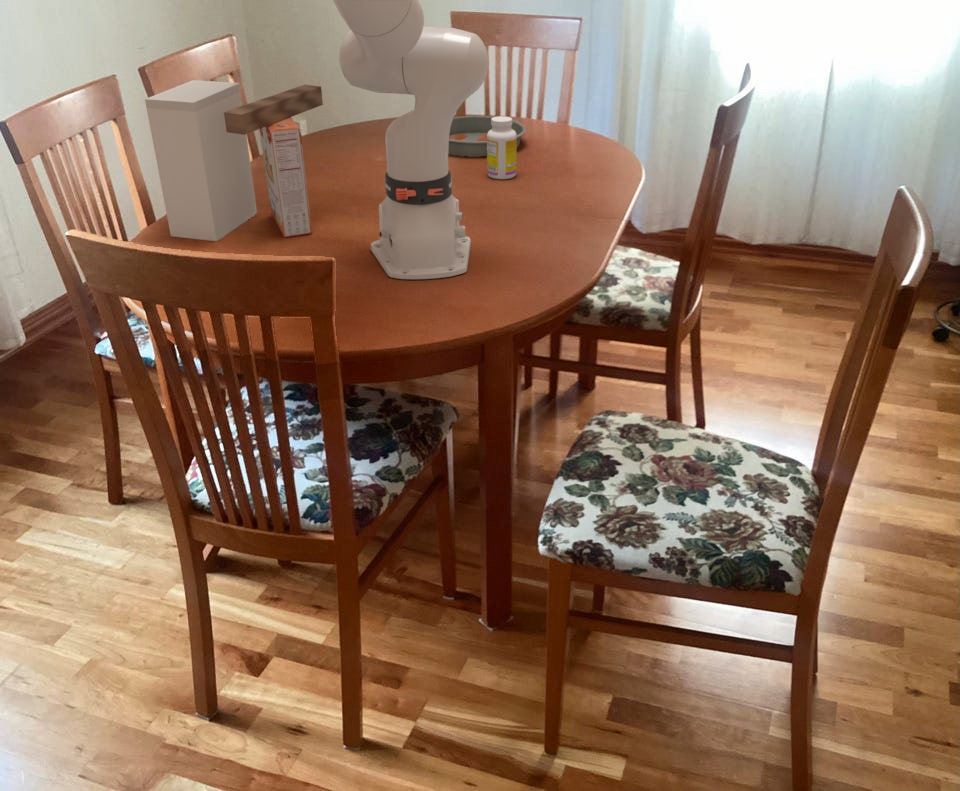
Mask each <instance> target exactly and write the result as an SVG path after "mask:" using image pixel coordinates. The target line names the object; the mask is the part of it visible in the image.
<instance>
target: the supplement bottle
mask: <svg viewBox="0 0 960 791" xmlns="http://www.w3.org/2000/svg"><path fill="white" fill-rule="evenodd" d="M512 120H513V118H512V117H511V116H501V115H500V116H493V118H492V119H491V125H492V129H491V130H490V131H489V132H488V133H487V157H486V164H487V165H486V166H487V168H486V171H487V176H488V177H489V178H491V179H493V180H508V179H513V178H514V177H515V176H516V175H517V161H518V160H517V157H518V156H517V153H518V151H517V149H518V148H517V134H516V132H515V131H514V130H513V129H511V126H512Z"/></svg>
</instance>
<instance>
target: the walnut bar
mask: <svg viewBox="0 0 960 791" xmlns="http://www.w3.org/2000/svg"><path fill="white" fill-rule="evenodd" d="M323 102H324V101H323V93H322V86H319V85H318V86H317V85H311V84H302V85H299V86H296V87H294V88H290V89H288V90H285V91H282V92H279V93H276V94H273V95H271V96H270V95H269V96H267V97H264V98H261V99H259V100H255V101H252V102H250V103H247V104H243V105H242V106H241V107H238V108H235V109H232V110H229V111H226V112H224V117H225V124H226V131H227V132H229V133H236V134H243V135H245V134H246V135H247V134H250V133H253V132H255V131H258V130H260V129H261V128H263V127H266V126H269V125H271V124H274V123H276V122H279V121H282V120H284V119H287V118H290V117H291V118H293V117H294V116H298V115H300V114H303V113H305V112H307V111H310V110H313V109H316V108H318V107H321V106H323V105H324V104H323Z"/></svg>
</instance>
